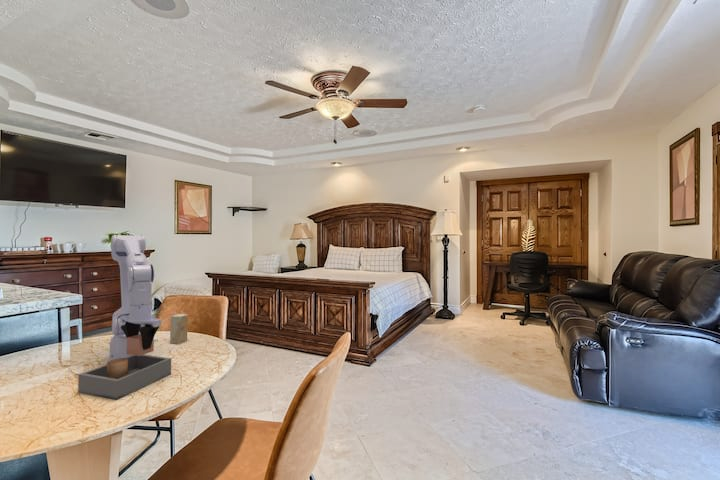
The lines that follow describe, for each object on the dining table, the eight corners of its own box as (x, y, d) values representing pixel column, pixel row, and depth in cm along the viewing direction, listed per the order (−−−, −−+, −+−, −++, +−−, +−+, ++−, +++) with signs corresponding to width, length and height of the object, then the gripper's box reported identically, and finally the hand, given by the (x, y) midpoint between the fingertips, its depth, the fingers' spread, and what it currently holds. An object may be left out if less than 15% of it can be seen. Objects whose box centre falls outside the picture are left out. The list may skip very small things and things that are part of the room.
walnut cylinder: (103, 386, 98) (103, 361, 98) (122, 380, 103) (123, 356, 102) (111, 390, 96) (111, 365, 96) (131, 384, 100) (131, 360, 100)
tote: (78, 392, 96) (78, 374, 95) (136, 368, 113) (136, 353, 113) (116, 399, 92) (116, 381, 92) (171, 374, 109) (171, 358, 109)
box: (178, 344, 138) (179, 316, 138) (169, 343, 139) (169, 316, 139) (187, 340, 143) (188, 314, 143) (178, 339, 144) (179, 313, 144)
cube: (126, 354, 104) (126, 337, 104) (141, 349, 109) (141, 333, 109) (138, 356, 103) (139, 339, 103) (153, 351, 108) (153, 335, 108)
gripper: (169, 303, 107) (169, 346, 108) (135, 299, 112) (134, 341, 112) (149, 307, 101) (149, 353, 101) (113, 303, 105) (113, 347, 105)
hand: (140, 347), depth 106 cm, fingers closed on cube, 5 cm apart
